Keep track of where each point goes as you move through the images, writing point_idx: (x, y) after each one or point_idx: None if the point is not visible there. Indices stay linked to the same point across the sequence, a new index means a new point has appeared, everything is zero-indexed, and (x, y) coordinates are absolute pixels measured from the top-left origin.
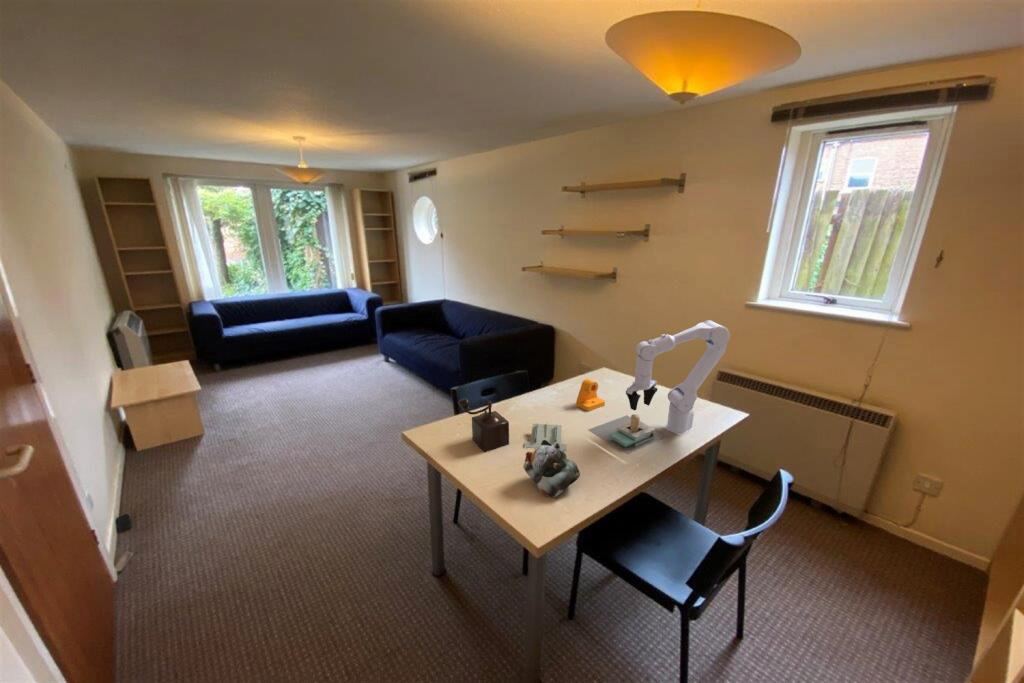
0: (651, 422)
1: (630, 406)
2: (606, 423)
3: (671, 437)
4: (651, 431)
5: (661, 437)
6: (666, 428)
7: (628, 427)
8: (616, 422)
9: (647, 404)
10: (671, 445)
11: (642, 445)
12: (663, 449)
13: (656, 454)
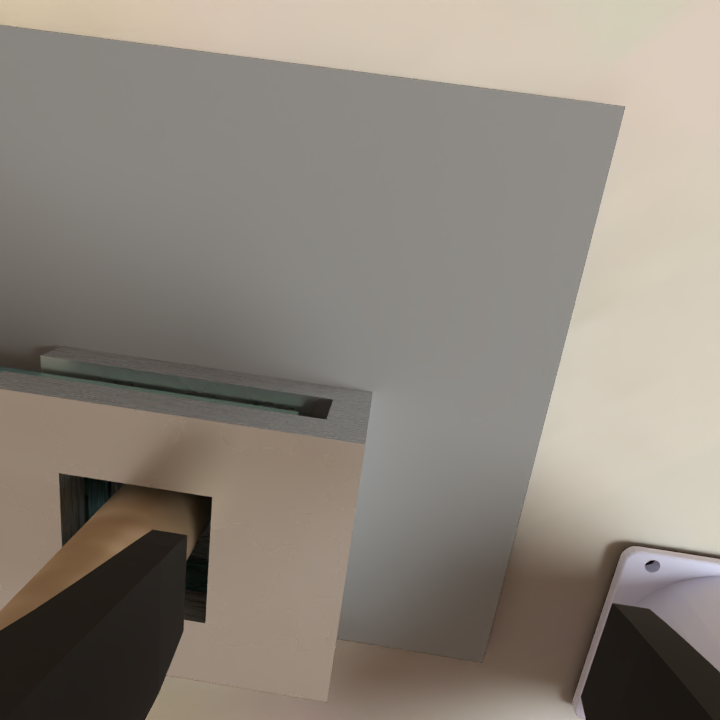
0: (679, 413)
1: (114, 561)
2: (195, 67)
3: (508, 666)
4: (255, 683)
5: (412, 636)
6: (624, 598)
7: (113, 475)
8: (325, 144)
9: (594, 695)
10: (379, 711)
11: None
12: (271, 695)
13: (164, 690)
